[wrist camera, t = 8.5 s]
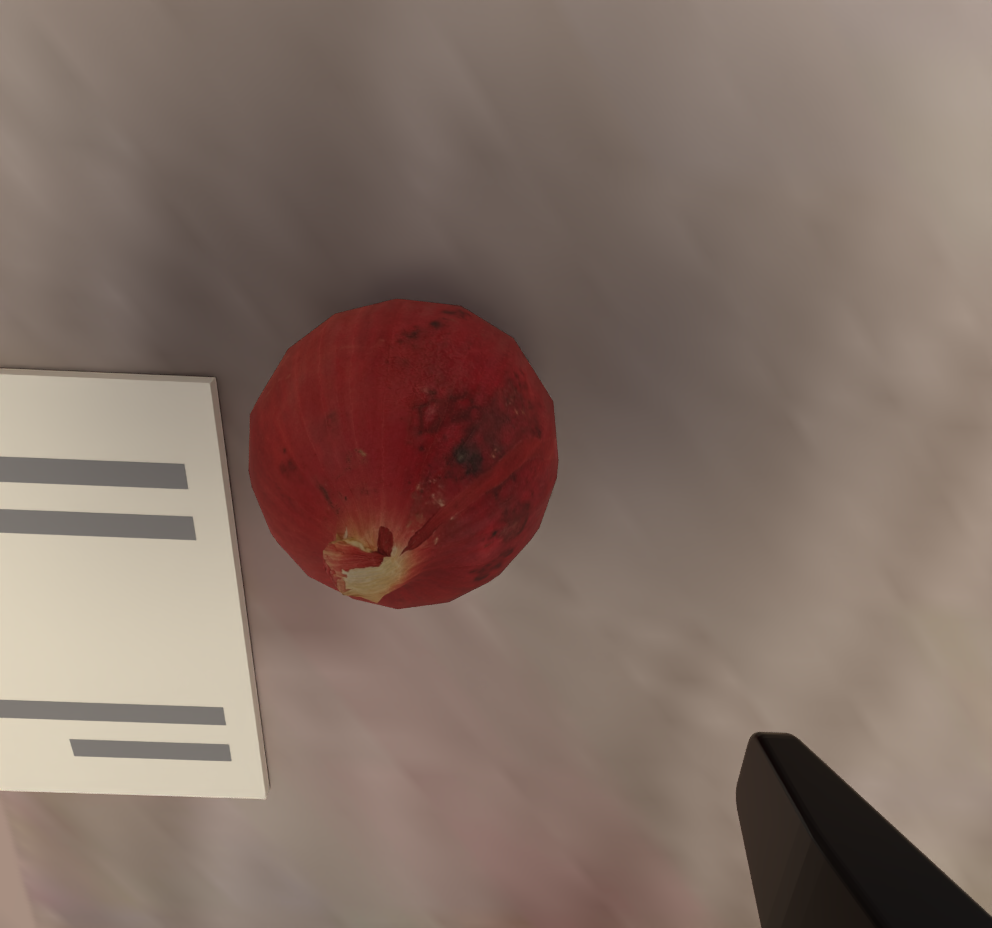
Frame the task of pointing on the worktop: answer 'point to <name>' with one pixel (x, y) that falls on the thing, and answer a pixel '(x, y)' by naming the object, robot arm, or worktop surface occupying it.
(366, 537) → the onion
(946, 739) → the worktop surface
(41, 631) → the letter
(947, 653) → the worktop surface
